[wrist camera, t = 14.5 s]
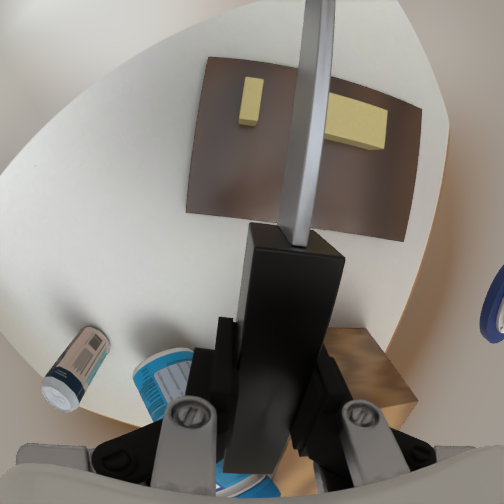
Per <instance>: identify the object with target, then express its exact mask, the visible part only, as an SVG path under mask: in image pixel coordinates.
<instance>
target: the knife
mask: <svg viewBox="0 0 504 504" xmlns="http://www.w3.org/2000/svg"><path fill="white" fill-rule="evenodd" d="M334 23H335V0H306V2H305V13H304V22H303V32H302V41H301V50H300V59H299V67H298V76H297V84H296V92H295V100H294V108H293V116H292V123H291V131H290V138H289V146H288V153H287V160H286V167H285V174H284V181H283V188H282V195H281V202H280V208H279V215H278V222H277V225H278V226H277V225H270V224H262V223H254V222H251V223H249V228H248V235H247V243H246V250H245V258H244V266H243V273H242V281H241V289H240V297H239V304H238V312H237V320H236V322H237V370H238V371H239V396H238V403H237V410H236V416H235V422H234V428H233V434H232V440H231V446H230V449H225V455H224V459H223V460H222V472H223V473H232V474H273V472H274V470H275V468H276V466H277V463H278V461H279V459H280V457H281V455H282V452H283V450H284V448H285V445H286V443H287V441H288V438H289V436H290V432H291V429H292V427H293V424H294V422H295V419H296V417H297V414H298V412H299V409H300V406H301V404H302V401H303V398H304V396H305V393H306V390H307V387H308V384H309V382H310V379H311V376H312V374H313V373H314V370H315V367H316V364H317V361H318V358H319V355H320V351H321V348H322V345H323V342H324V339H325V335H326V332H327V329H328V325H329V322H330V318H331V315H332V311H333V307H334V304H335V300H336V296H337V292H338V289H339V285H340V281H341V277H342V272H343V268H344V264H345V257H344V256H343V255H342V254H341V253H339V252H338V251H337V250H336V249H335V248H334V247H333V246H331V245H330V244H329V243H328V242H327V241H326V240H324V239H323V238H322V237H321V236H320V235H319V234H317V233H316V232H315V231H314V230H310V227H311V221H312V216H313V210H314V204H315V198H316V191H317V185H318V178H319V171H320V165H321V157H322V150H323V143H324V135H325V127H326V118H327V109H328V100H329V90H330V79H331V68H332V55H333V41H334Z"/></svg>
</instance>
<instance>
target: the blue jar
mask: <svg viewBox="0 0 504 504" xmlns="http://www.w3.org/2000/svg"><path fill="white" fill-rule="evenodd" d="M193 353H194V352H193V351H192V350H190V349H188V348H173V349H168V350H165V351H162V352H159V353H157V354H154V355H152V356H150V357H149V358H147V359H145V360H144V361H143V362H141V363H140V364H139V365H138V366H137V367H136V368H135V370H134V372H133V380H134V383H135V385H136V387H137V389H138V390H139V393H140V395H141V397H142V399H143V401H144V403H145V405H146V408H147V410H148V412H149V414H150V416H151V418H152V420H153V422H155V421H158V420H160V419H162V418H164V413H165V409H166V407H167V405H168V404H169V403H170V402H171V401H172V400H173V399H175V398H177V397H181V396H185V391H186V386H187V382H188V377H189V372H190V367H191V363H192V358H193ZM222 460H223V459H222ZM222 460H221V461H219V462H218V463H216V497H232V498H275V497H280V496H281V492H280V491H279V489H278V487H277V486H276V485H275V484H274V482H273V481H272V480H271V479H270V478H269V476H268V475H266V474H232V473H223V472H222Z"/></svg>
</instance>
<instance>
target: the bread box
mask: <svg viewBox="0 0 504 504" xmlns="http://www.w3.org/2000/svg"><path fill="white" fill-rule="evenodd" d="M323 343H324V345H325V348H326V350H327V352H328V354H329V356H332V357H333V358H334V359H335V361H336V363H337V365H338V367H339V369H340V371H341V374H342V376H343V378H344V380H345V382H346V384H347V386H348V389H349V391H350V393H351V395H352V397H353V400H356V399H361V400H366V401H370V402H372V403H374V404H375V405H377V406H378V407H379V408H380V410H381V411H382V413H383V415H384V417H385V419H386V421H387V423H388V425H389V427H391V428H394V429H396V430H398V431H399V429H400V428H401V426H402V425H403V424H404V422H405V420H406V419H407V418H408V416H409V415H410V413H411V412H412V410H413V409H414V407H415V406H416V404H417V402H418V399H417V398H416V396H415V395H414V394H413V392H412V391H411V389H410V388H409V386H408V385H407V384H406V382H405V381H404V379H403V378H402V377H401V375H400V374H399V372H398V371H397V370H396V368H395V367H394V365H393V364H392V363H391V361H390V360H389V359H388V358H387V356H386V355H385V353H384V352H383V350H382V349H381V348H380V346H379V345H378V344H377V342H376V341H375V340H374V338H373V337H372V336H371V334H370V333H369V332H368V330H367V329H359V328H328V329H327V332H326V335H325V339H324V342H323ZM266 475H268V476H269V478H270V479H271V480H272V481H273V482H274V484H275V485H276V486H277V487H278V489H279V491H280V492H281V496H280V497H292V496H303V495H312V494H318V489H317V484H316V479H315V474H314V469H313V460H311V459H309V458H308V456H307V457H299V453H298V449H297V450H294V449H293V446H292V441H291V435H290V436H289V438H288V441H287V443H286V445H285V448H284V450H283V452H282V455H281V457H280V459H279V461H278V463H277V466H276V468H275V470H274V472H273V474H266Z"/></svg>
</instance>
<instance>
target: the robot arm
mask: <svg viewBox="0 0 504 504" xmlns="http://www.w3.org/2000/svg"><path fill="white" fill-rule="evenodd" d="M496 327H497V330H498V331H499V332H501V333H504V296H503V298H502V301H501V303H500V306H499V309H498V313H497V318H496ZM238 396H239V371H238V370H237V322H233V318H226V317H219V320H218V328H217V336H216V345H215V350H212V349H204V348H196V347H195V349H194V353H193V358H192V363H191V367H190V372H189V377H188V382H187V386H186V391H185V396H181V397H177V398H175V399H173V400H172V401H171V402H170V403H169V404H168V405H167V407H166V409H165V413H164V418H162V419H160V420H158V421H155V422H153V423H151V424H149V425H146V426H144V427H142V428H139V429H137V430H134V431H132V432H130V433H127V434H125V435H122V436H120V437H117V438H115V439H112V440H109V441H106V442H104V443H102V444H100V445H98V446H97V447H96V448H95V449H87V448H86V446H68V445H50V444H39V443H27V444H25V445H23V446H21V447H20V449H19V450H18V452H17V455H16V466H14V467H12V468H11V469H9V470H8V471H7V472H6V473H5V474H4V475H3V476H2V477H1V478H0V504H504V446H502V445H494V446H484V447H479V448H475V447H471V446H435V447H434V448H433V447H431V446H430V445H429V444H428V443H426V442H424V441H422V440H419V439H417V438H414V437H412V436H410V435H407V434H405V433H403V432H400V431H398V430H396V429H394V428H391V427H389V425H388V423H387V421H386V419H385V417H384V415H383V413H382V411H381V410H380V408H379V407H378V406H377V405H375V404H374V403H372V402H370V401H366V400H361V399H356V400H353V397H352V395H351V393H350V391H349V389H348V386H347V384H346V382H345V380H344V378H343V376H342V374H341V371H340V369H339V367H338V365H337V363H336V361H335V359H334V358H333V357H332V356H329V354H328V352H327V350H326V348H325V345H324V343H323V345H322V348H321V351H320V355H319V358H318V361H317V364H316V367H315V370H314V373H313V374H312V376H311V379H310V382H309V384H308V387H307V390H306V393H305V396H304V398H303V401H302V404H301V406H300V409H299V412H298V414H297V417H296V419H295V422H294V424H293V427H292V429H291V432H290V435H291V441H292V446H293V449H294V450H297V449H298V453H299V457H307V456H308V458H309V459H311V460H313V469H314V474H315V479H316V484H317V489H318V494H312V495H303V496H292V497H275V498H232V497H216V463H218V462H219V461H221V460H222V459H224V455H225V449H230V446H231V440H232V434H233V428H234V422H235V416H236V410H237V403H238Z"/></svg>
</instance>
